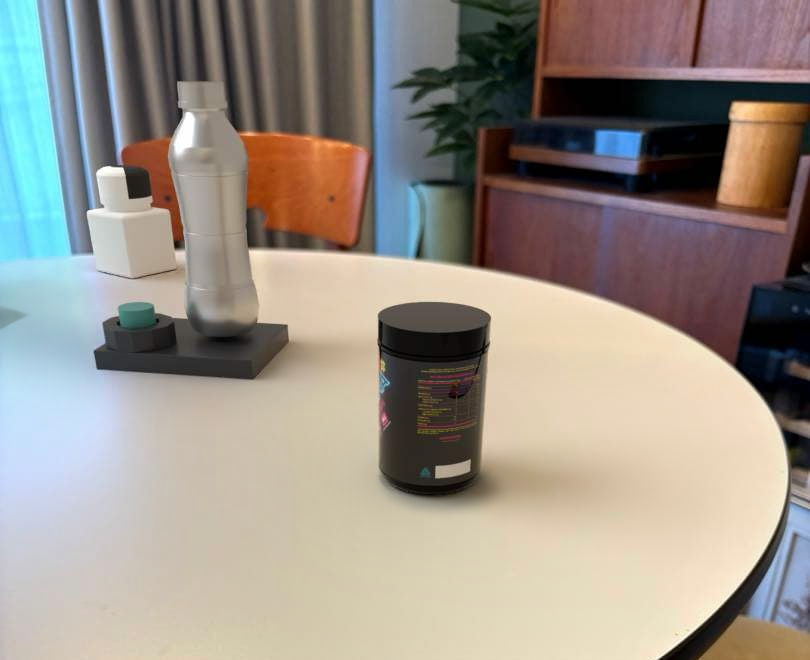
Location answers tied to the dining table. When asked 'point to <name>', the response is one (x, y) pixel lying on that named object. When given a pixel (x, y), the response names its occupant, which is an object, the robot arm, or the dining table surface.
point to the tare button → (137, 314)
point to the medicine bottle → (130, 225)
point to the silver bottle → (213, 213)
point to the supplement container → (432, 395)
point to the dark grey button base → (188, 349)
